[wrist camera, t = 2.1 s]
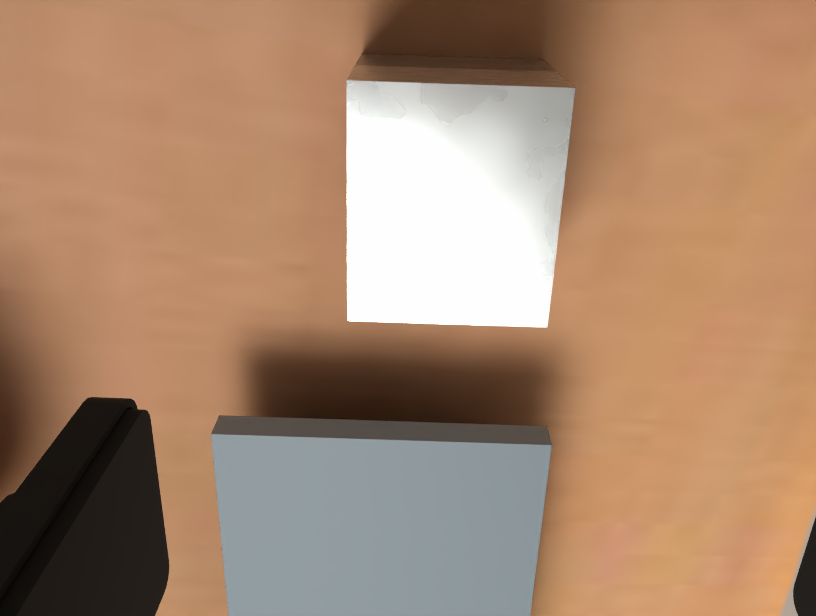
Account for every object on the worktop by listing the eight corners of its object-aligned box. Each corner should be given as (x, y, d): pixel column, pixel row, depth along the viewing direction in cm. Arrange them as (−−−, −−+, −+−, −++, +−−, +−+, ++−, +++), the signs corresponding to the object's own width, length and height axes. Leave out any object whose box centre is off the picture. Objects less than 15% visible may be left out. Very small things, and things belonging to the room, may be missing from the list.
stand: (235, 377, 31) (210, 434, 27) (536, 386, 31) (551, 445, 27) (255, 632, 37) (237, 707, 33) (508, 641, 37) (517, 717, 33)
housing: (362, 53, 26) (346, 80, 20) (542, 58, 26) (575, 88, 20) (361, 250, 29) (347, 320, 23) (523, 255, 29) (547, 327, 23)
